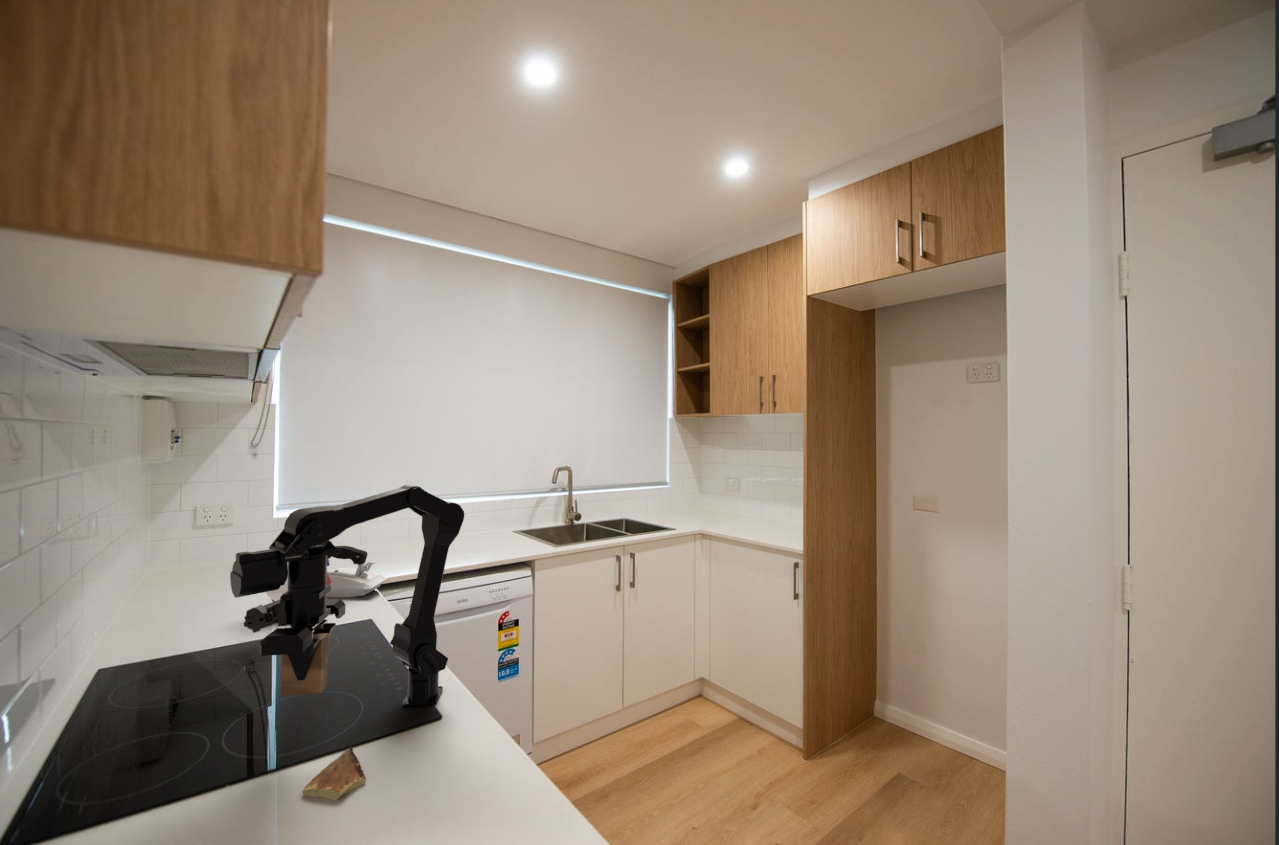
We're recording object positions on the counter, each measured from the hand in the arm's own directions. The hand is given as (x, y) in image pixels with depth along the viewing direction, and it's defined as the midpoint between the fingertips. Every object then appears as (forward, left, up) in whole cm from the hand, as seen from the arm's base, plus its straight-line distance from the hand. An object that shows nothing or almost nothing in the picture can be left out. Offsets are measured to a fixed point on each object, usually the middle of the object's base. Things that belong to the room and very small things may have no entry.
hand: (305, 675), depth 92 cm
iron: (-88, -25, -12) cm, 93 cm away
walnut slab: (0, 0, -3) cm, 3 cm away
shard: (+10, +8, -13) cm, 18 cm away
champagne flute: (-49, -26, -12) cm, 57 cm away
